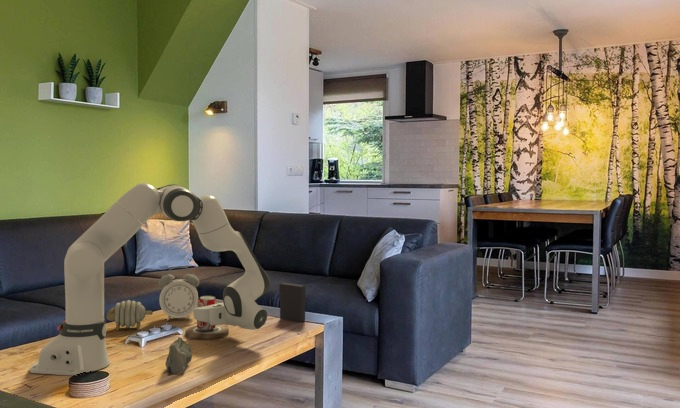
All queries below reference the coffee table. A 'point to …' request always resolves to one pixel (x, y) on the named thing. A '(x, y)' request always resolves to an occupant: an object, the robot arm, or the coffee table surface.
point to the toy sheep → (127, 314)
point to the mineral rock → (178, 356)
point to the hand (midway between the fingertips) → (205, 306)
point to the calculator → (292, 302)
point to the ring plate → (206, 333)
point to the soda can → (202, 302)
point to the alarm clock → (178, 294)
